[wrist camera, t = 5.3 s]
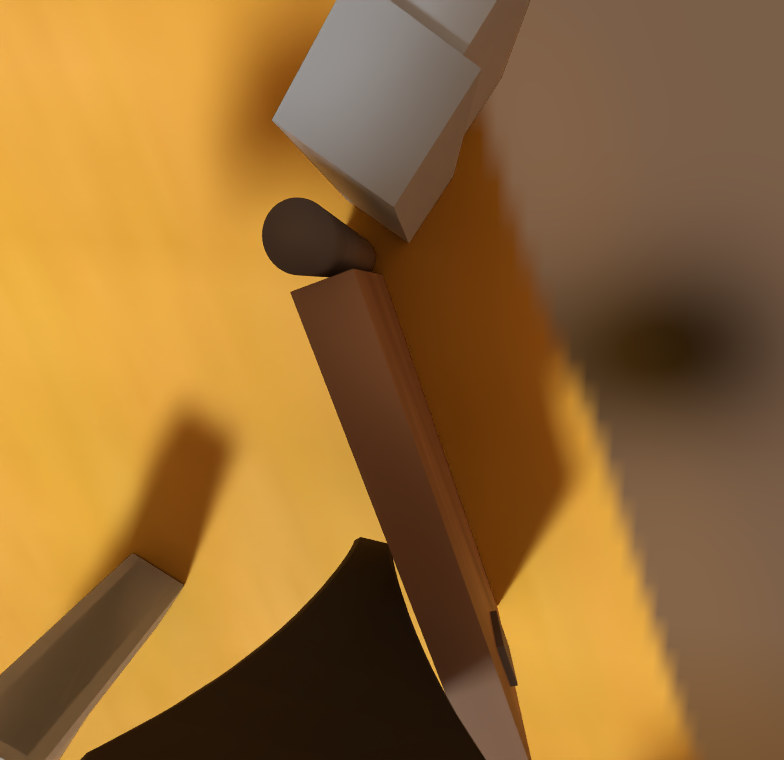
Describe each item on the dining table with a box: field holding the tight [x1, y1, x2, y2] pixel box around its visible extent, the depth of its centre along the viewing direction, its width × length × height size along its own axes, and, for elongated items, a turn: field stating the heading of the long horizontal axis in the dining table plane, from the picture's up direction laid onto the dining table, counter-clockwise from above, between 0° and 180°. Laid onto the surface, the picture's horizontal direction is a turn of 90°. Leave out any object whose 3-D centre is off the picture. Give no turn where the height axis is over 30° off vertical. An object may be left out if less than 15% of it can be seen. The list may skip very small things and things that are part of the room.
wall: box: [0, 0, 530, 760], centre depth 10 cm, size 2×30×5 cm, turn 146°
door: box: [262, 198, 531, 760], centre depth 9 cm, size 1×11×5 cm, turn 20°
